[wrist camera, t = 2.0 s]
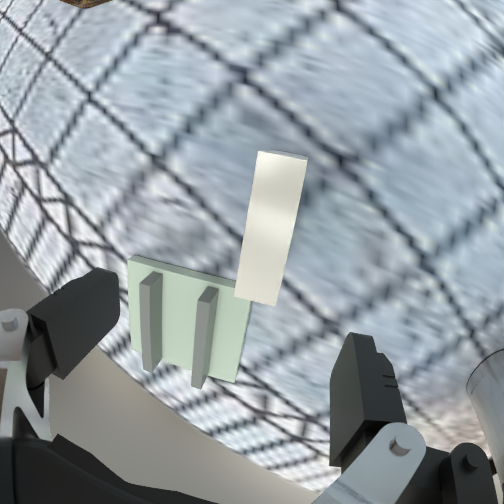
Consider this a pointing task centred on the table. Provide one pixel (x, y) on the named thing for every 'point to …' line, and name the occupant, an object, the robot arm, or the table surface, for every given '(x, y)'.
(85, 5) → the book
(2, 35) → the table surface
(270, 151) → the cream rectangular prism
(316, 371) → the table surface
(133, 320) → the dish rack
